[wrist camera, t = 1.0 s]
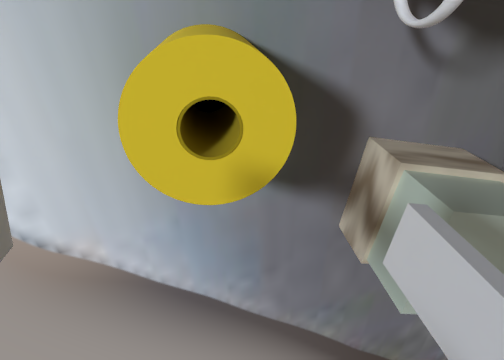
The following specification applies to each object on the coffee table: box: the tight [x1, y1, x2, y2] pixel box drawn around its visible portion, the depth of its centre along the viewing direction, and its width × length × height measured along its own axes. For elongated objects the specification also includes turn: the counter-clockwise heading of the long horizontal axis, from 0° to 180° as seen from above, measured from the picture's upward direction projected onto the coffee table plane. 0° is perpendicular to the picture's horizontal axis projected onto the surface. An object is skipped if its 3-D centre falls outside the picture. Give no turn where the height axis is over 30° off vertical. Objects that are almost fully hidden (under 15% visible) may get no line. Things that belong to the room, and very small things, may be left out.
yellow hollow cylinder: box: [118, 24, 296, 205], centre depth 23 cm, size 10×10×9 cm
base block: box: [339, 137, 504, 264], centre depth 32 cm, size 10×10×6 cm
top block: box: [367, 170, 504, 314], centre depth 27 cm, size 9×9×6 cm
